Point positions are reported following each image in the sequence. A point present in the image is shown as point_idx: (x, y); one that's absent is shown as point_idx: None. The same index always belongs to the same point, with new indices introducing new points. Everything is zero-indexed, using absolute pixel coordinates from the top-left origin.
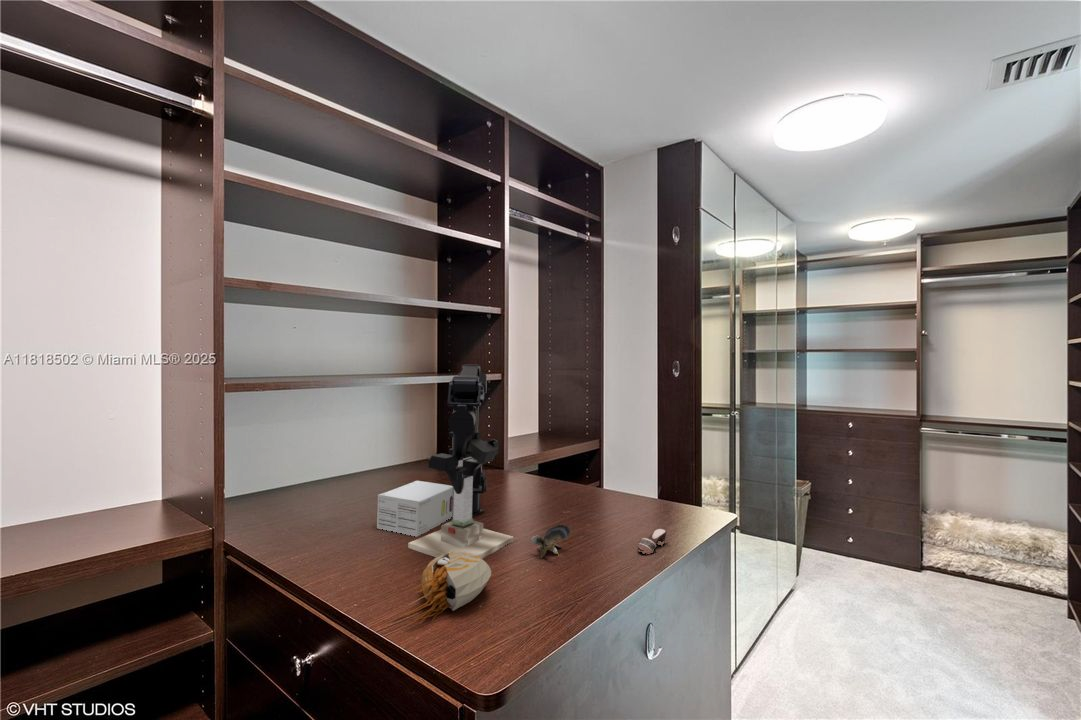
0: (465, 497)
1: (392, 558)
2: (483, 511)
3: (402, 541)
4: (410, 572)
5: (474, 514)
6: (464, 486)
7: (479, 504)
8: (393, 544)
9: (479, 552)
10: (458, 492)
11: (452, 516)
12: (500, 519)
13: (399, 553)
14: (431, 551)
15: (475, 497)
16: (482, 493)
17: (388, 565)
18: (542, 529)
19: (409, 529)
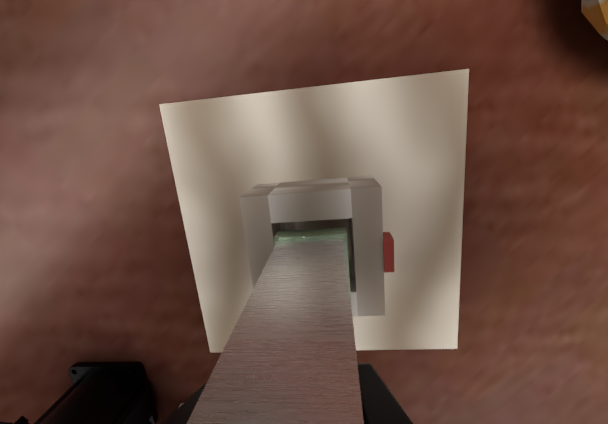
0: (329, 307)
1: (541, 316)
2: (76, 364)
3: (421, 383)
4: (600, 195)
5: (118, 365)
6: (352, 385)
7: (64, 396)
8: (455, 386)
9: (364, 96)
10: (376, 377)
11: (179, 405)
12: (72, 282)
13: (498, 327)
14: (460, 245)
15: (64, 421)
16: (25, 418)
17: (592, 287)
18: (7, 101)
19: None
